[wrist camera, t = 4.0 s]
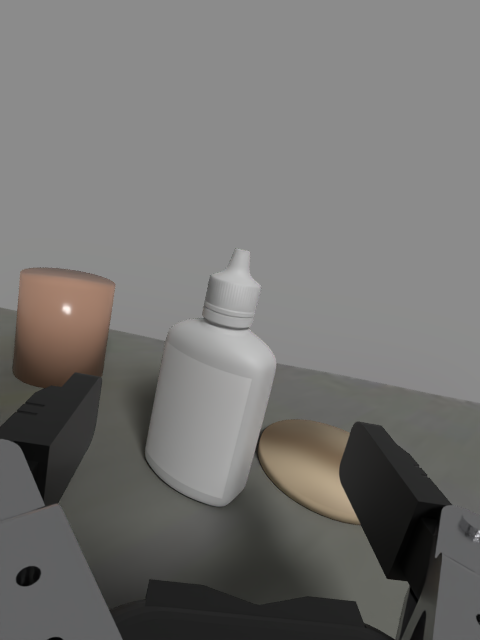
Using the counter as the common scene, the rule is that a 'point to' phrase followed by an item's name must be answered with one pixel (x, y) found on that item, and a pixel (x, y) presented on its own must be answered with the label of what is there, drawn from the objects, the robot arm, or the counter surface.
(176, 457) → the eye dropper bottle
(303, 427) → the cork coaster
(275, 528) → the counter surface
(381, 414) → the counter surface
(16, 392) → the counter surface
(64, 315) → the domed peg
